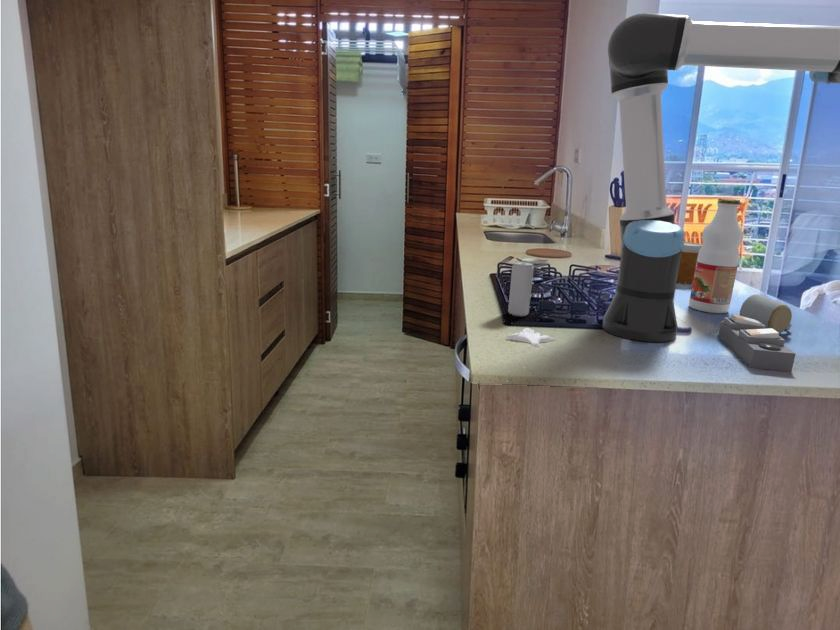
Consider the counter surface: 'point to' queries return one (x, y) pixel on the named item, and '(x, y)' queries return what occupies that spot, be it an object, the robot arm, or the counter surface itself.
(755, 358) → the power strip
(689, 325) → the counter surface
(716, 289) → the fruit juice
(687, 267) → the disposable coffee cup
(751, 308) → the ceramic mug
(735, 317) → the rocker outlet
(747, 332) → the rocker outlet
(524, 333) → the acanthus leaf ornament
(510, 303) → the beverage can
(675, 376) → the counter surface
